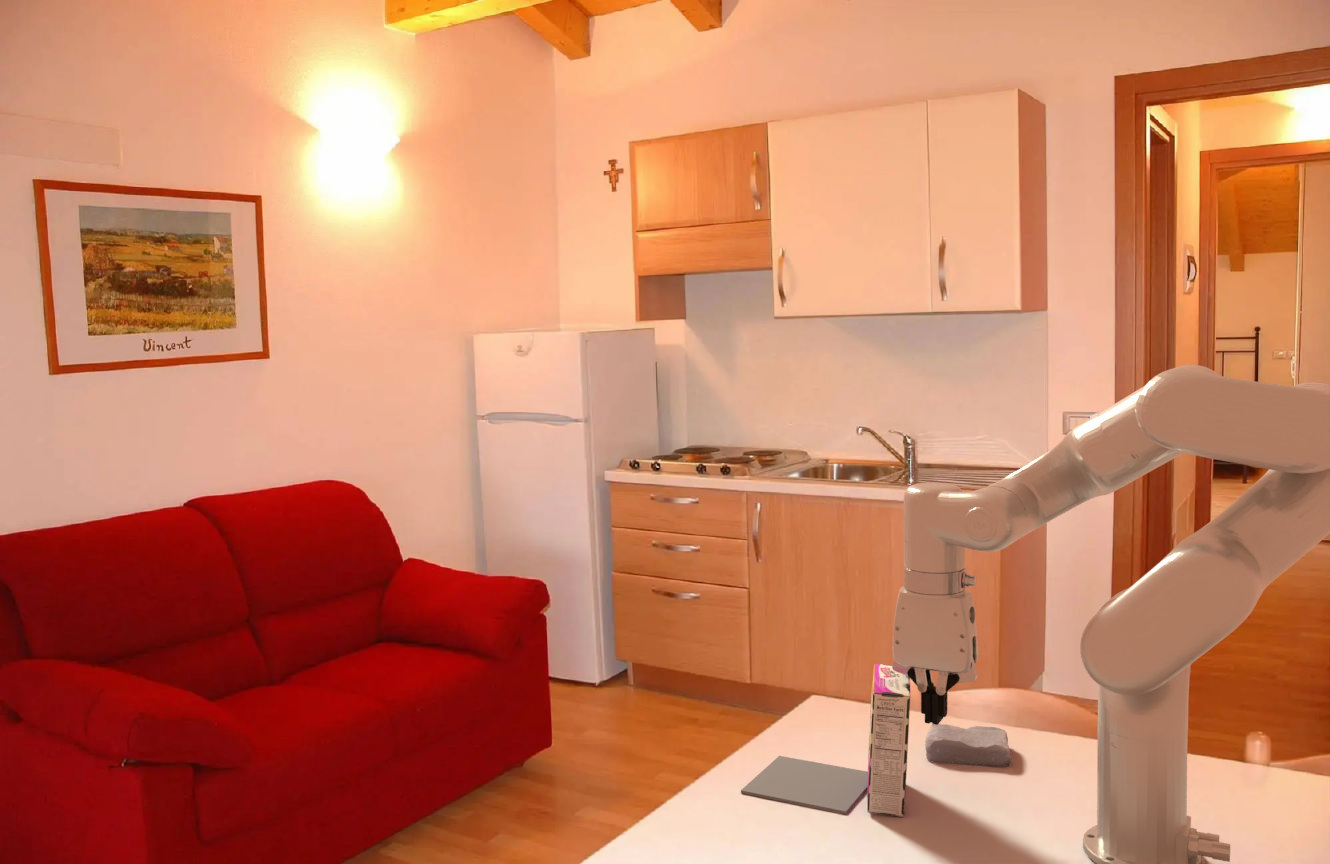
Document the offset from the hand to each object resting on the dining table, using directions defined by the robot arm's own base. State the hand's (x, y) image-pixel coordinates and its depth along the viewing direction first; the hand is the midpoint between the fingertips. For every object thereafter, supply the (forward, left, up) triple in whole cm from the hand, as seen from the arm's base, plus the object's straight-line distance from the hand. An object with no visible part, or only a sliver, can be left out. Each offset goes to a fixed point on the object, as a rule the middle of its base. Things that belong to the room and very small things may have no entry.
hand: (934, 720), depth 138 cm
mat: (+17, 0, -12) cm, 21 cm away
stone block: (+1, -20, -12) cm, 24 cm away
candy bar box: (+7, 0, -12) cm, 14 cm away
